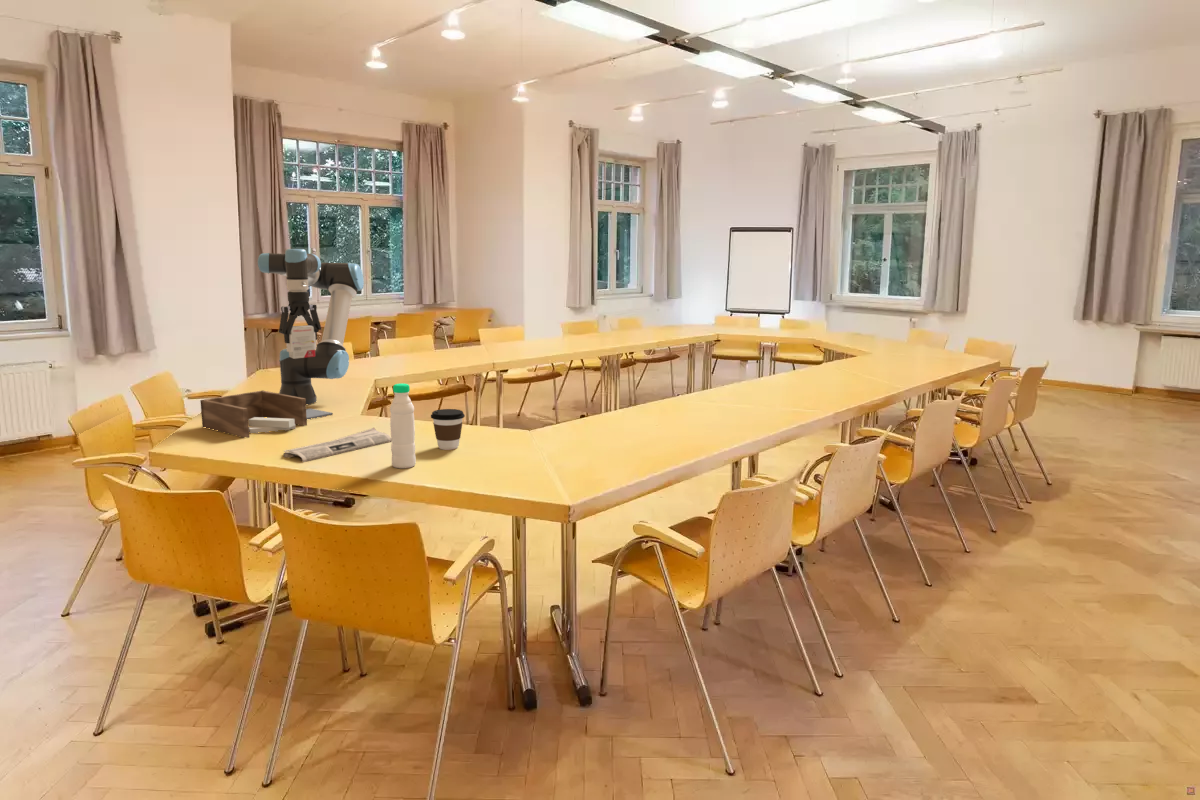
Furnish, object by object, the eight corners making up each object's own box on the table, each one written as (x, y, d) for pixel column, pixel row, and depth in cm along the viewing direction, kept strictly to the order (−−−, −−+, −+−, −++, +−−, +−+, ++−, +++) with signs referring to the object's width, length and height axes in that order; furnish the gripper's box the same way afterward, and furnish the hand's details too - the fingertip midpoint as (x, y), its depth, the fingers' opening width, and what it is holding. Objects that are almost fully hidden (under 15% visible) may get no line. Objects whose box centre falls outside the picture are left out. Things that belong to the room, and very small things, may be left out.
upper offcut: (294, 425, 282) (294, 418, 282) (289, 427, 278) (288, 421, 278) (255, 423, 284) (254, 417, 283) (248, 426, 280) (248, 419, 279)
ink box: (311, 355, 306) (309, 324, 304) (316, 357, 303) (314, 326, 300) (288, 357, 301) (286, 326, 299) (292, 358, 297) (290, 327, 295)
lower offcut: (293, 429, 287) (293, 422, 287) (295, 431, 284) (295, 424, 283) (248, 433, 279) (248, 426, 279) (250, 435, 276) (250, 429, 275)
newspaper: (303, 464, 241) (302, 452, 241) (279, 457, 249) (278, 446, 248) (395, 442, 269) (394, 432, 269) (371, 436, 277) (371, 426, 276)
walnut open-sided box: (264, 416, 304) (262, 390, 302) (307, 425, 290) (305, 398, 288) (202, 427, 284) (200, 400, 282) (245, 438, 270) (242, 409, 268)
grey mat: (309, 410, 316) (309, 408, 316) (332, 414, 308) (332, 412, 308) (281, 415, 305) (280, 413, 305) (303, 420, 297) (303, 418, 297)
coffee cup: (436, 453, 255) (435, 416, 252) (427, 445, 264) (426, 410, 262) (469, 449, 260) (469, 413, 257) (459, 442, 269) (458, 407, 267)
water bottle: (393, 462, 243) (391, 382, 238) (417, 462, 243) (415, 382, 238) (389, 469, 236) (386, 386, 231) (414, 468, 236) (411, 386, 232)
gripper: (277, 292, 286) (281, 354, 290) (329, 290, 304) (332, 348, 308) (265, 291, 290) (269, 352, 294) (317, 289, 308) (320, 346, 312)
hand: (301, 350), depth 301 cm, fingers closed on ink box, 9 cm apart
